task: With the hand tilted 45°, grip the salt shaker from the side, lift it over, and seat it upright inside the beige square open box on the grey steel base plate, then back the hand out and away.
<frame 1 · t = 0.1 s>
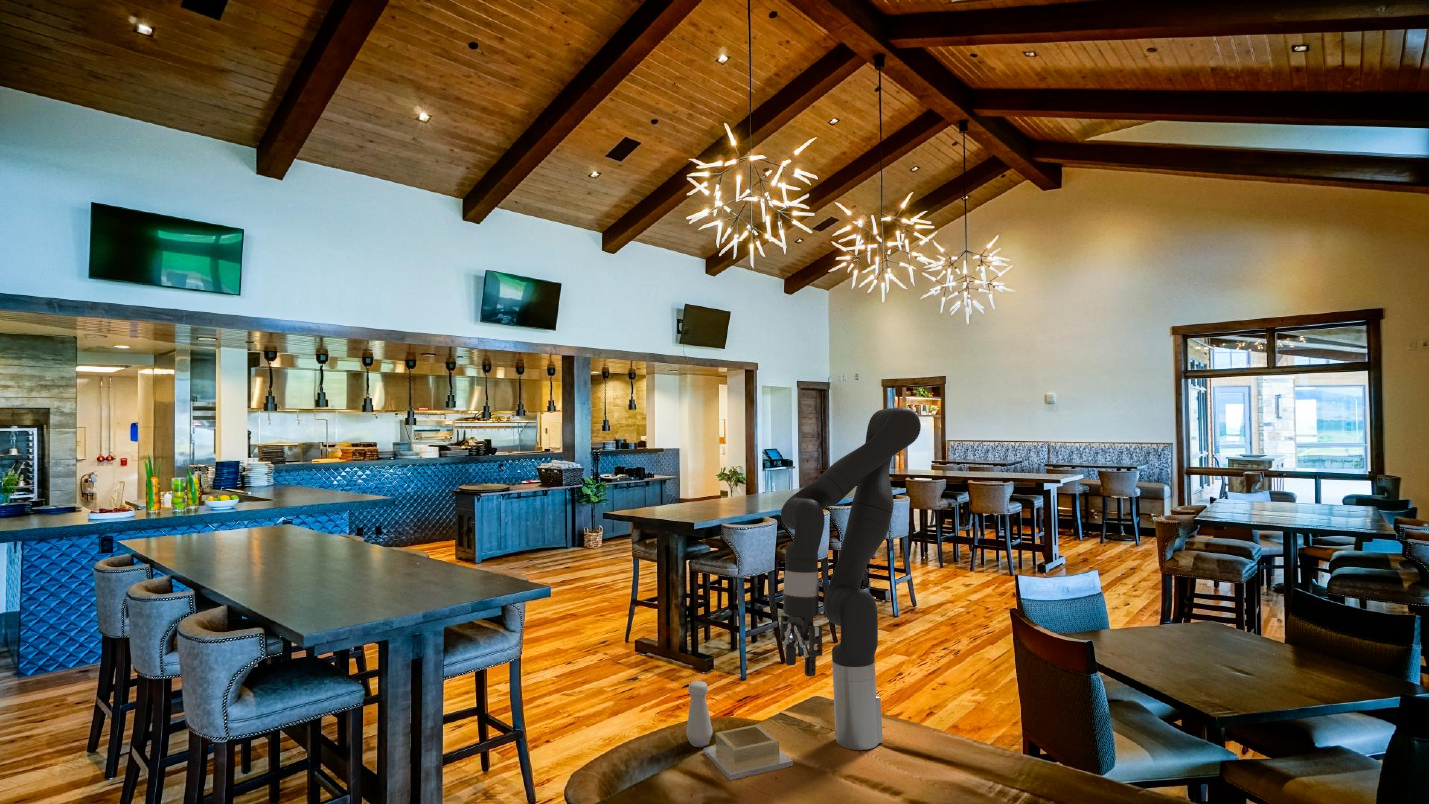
hand: (800, 670, 148), 17 cm above the table, tool pointing down, fingers open, 8 cm apart
salt shaker: (699, 744, 154), on the table
beige square open box: (747, 759, 145), on the table
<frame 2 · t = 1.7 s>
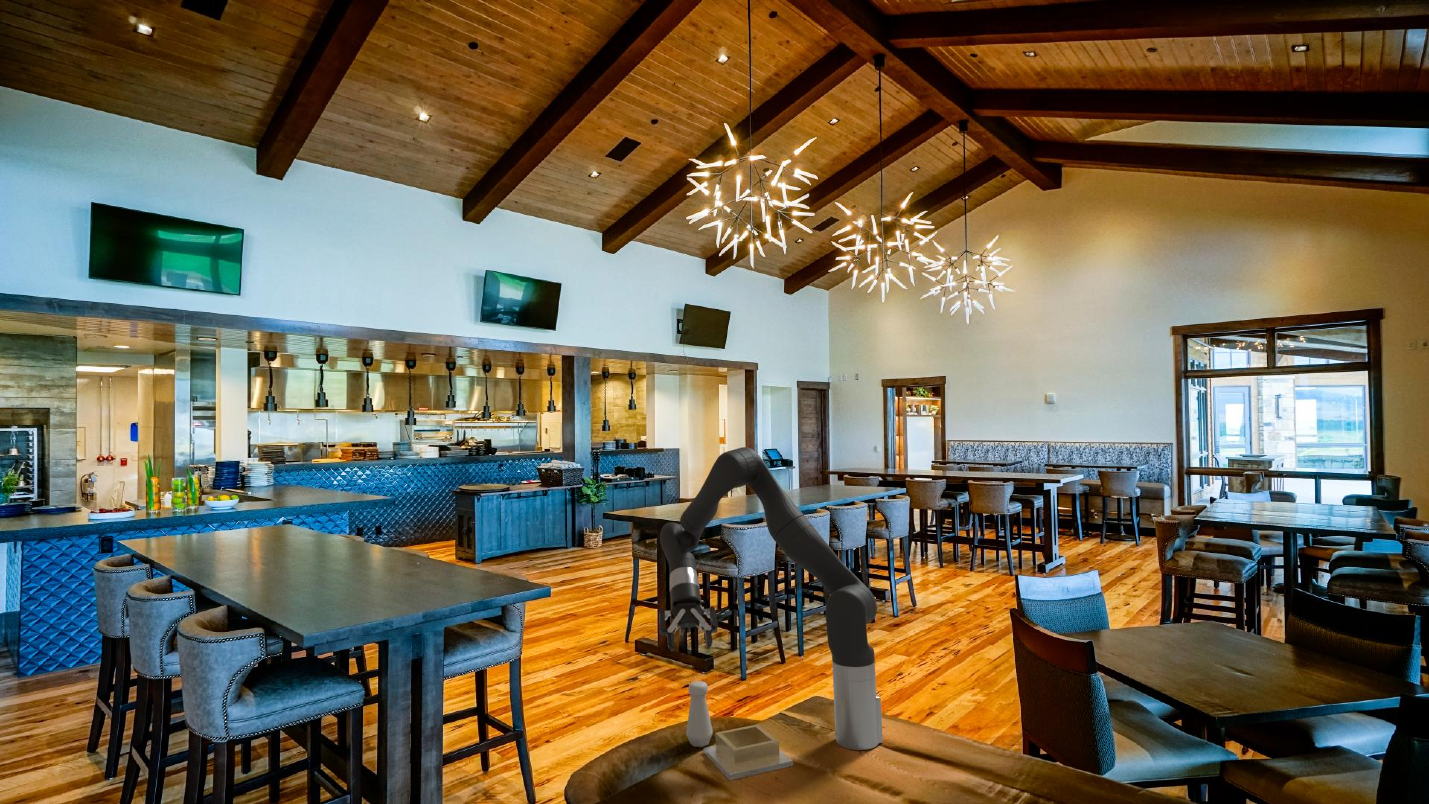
hand: (690, 648, 166), 18 cm above the table, tool tilted 45°, fingers open, 8 cm apart
nothing on the table moved.
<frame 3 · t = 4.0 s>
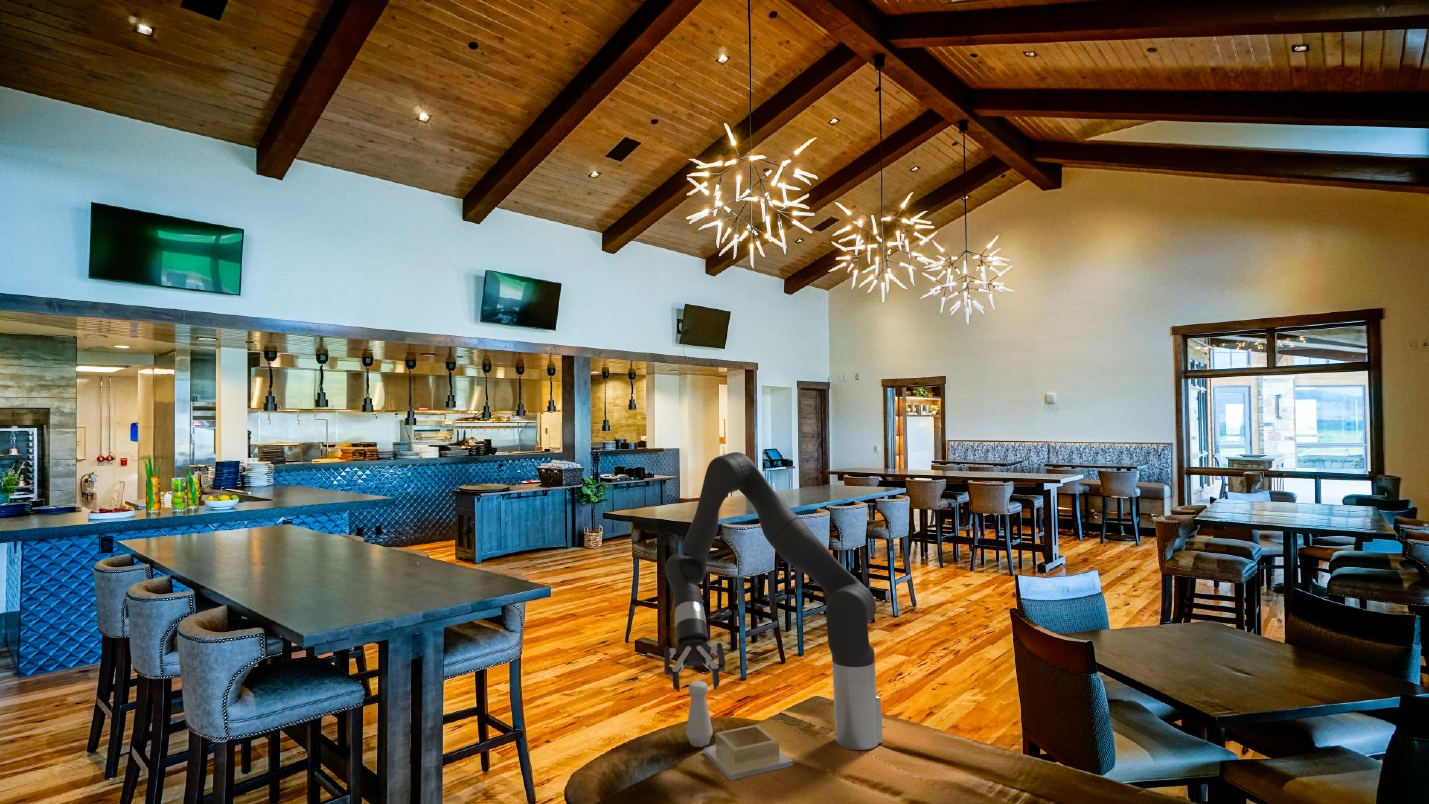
hand: (696, 688, 158), 10 cm above the table, tool tilted 45°, fingers open, 8 cm apart
nothing on the table moved.
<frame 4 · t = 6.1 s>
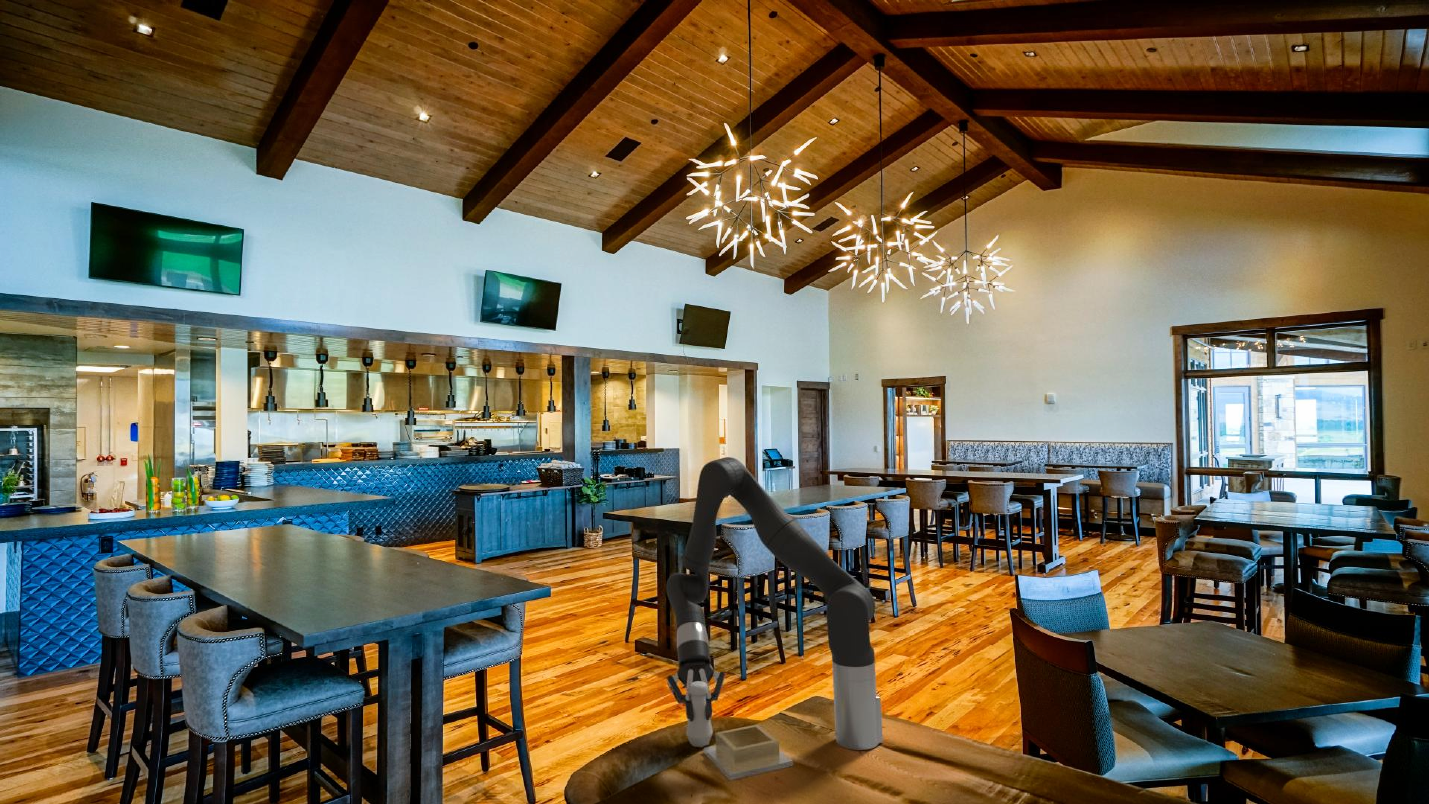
hand: (700, 718, 152), 6 cm above the table, tool tilted 45°, fingers closed on salt shaker, 3 cm apart
salt shaker: (699, 744, 154), on the table, touching gripper
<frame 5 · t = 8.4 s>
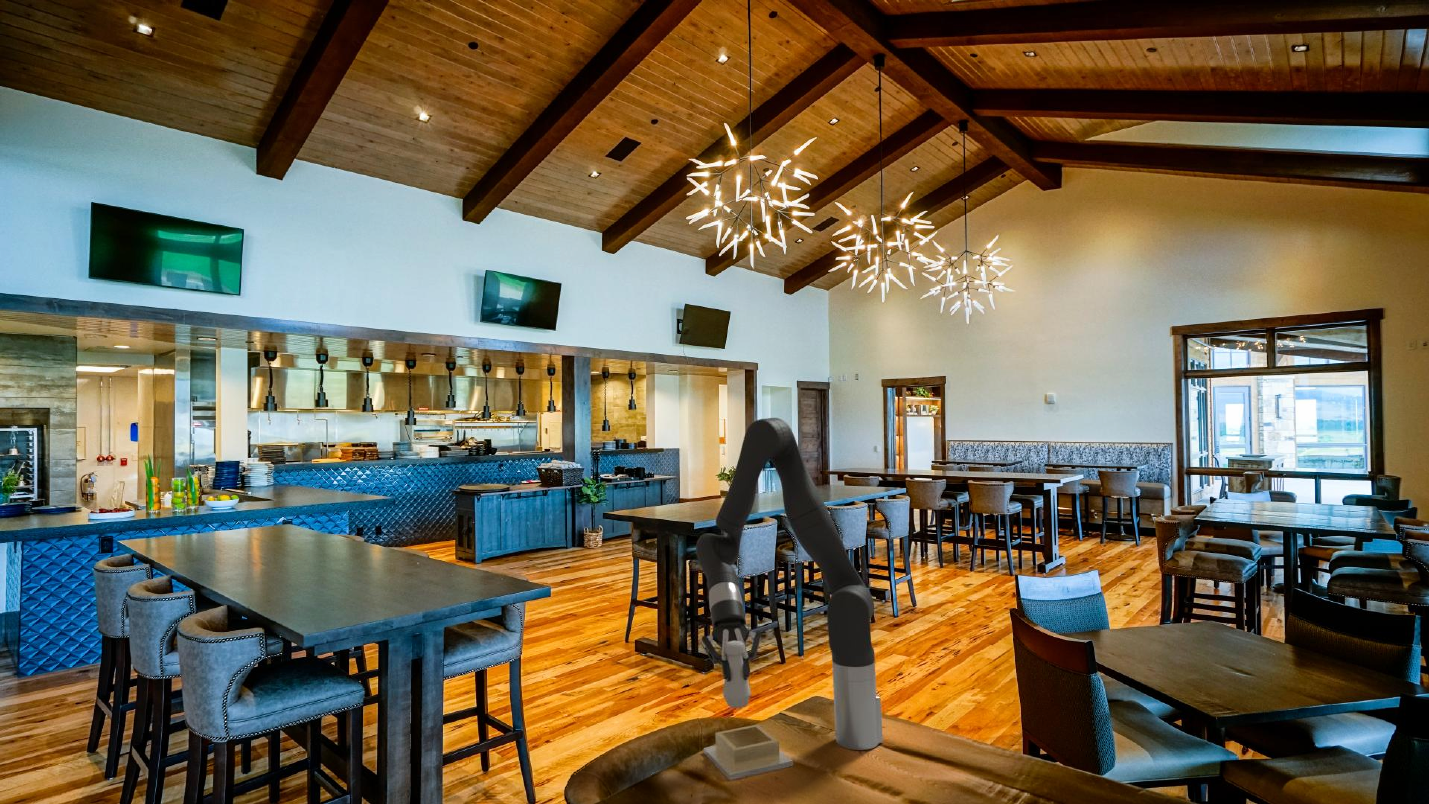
hand: (737, 678, 146), 16 cm above the table, tool tilted 45°, fingers closed on salt shaker, 3 cm apart
salt shaker: (737, 705, 148), point 10 cm above the table, touching gripper
when the fingers open (8 cm above the table, at t = 10.9 s): salt shaker drops 1 cm, resting on beige square open box.
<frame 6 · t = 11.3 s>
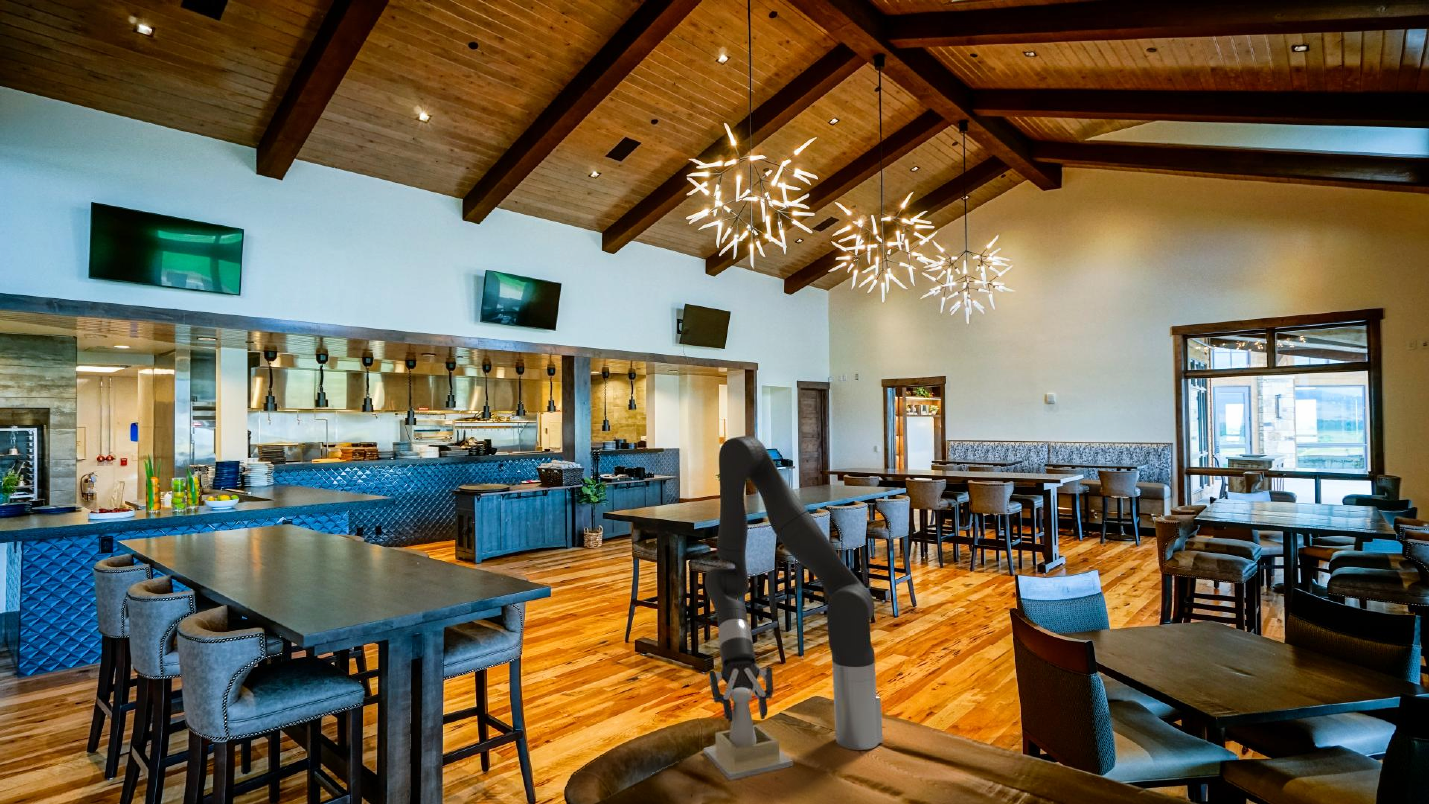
hand: (747, 718, 144), 9 cm above the table, tool tilted 45°, fingers open, 6 cm apart
salt shaker: (743, 753, 146), point 1 cm above the table, touching beige square open box
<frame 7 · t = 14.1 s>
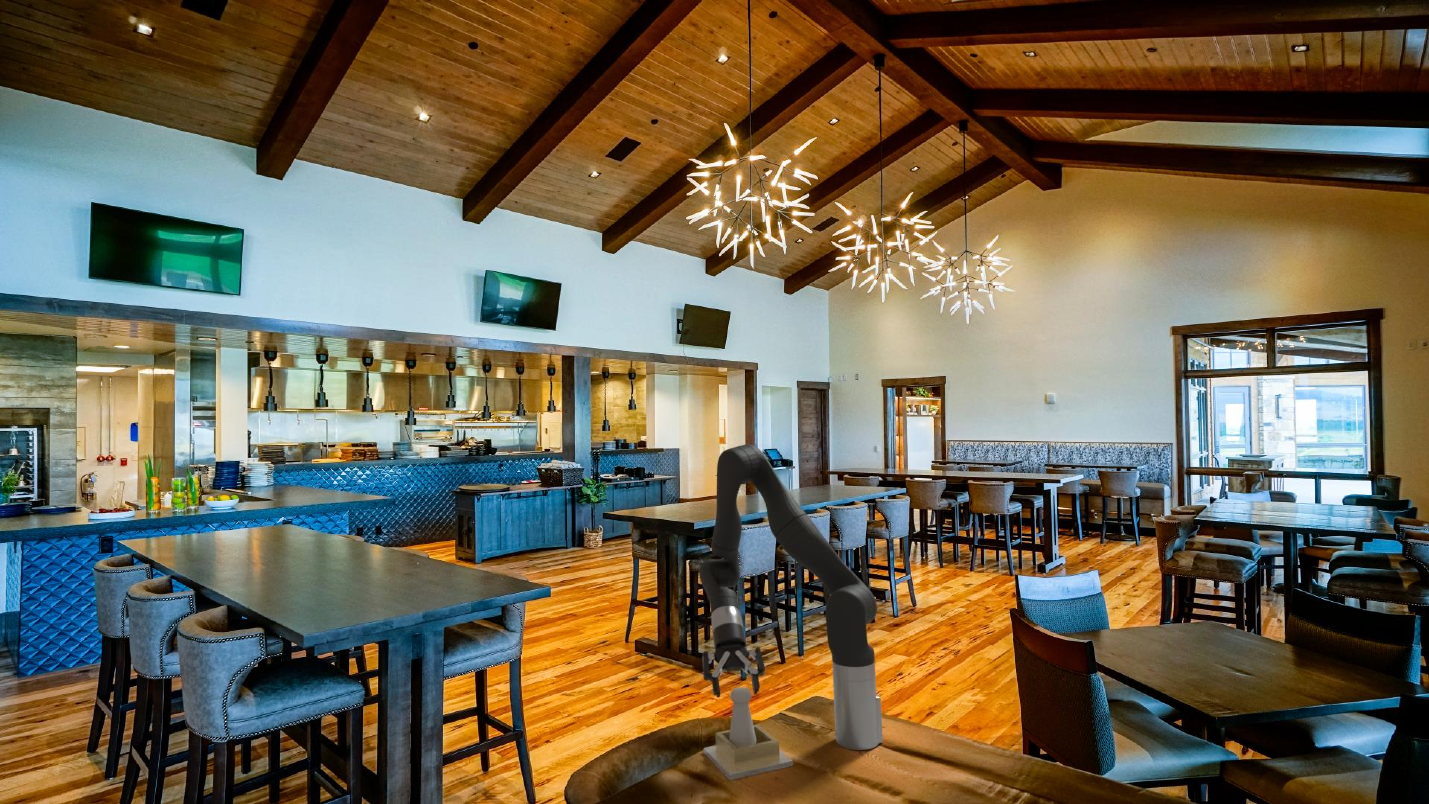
hand: (737, 694, 157), 9 cm above the table, tool tilted 45°, fingers open, 8 cm apart
nothing on the table moved.
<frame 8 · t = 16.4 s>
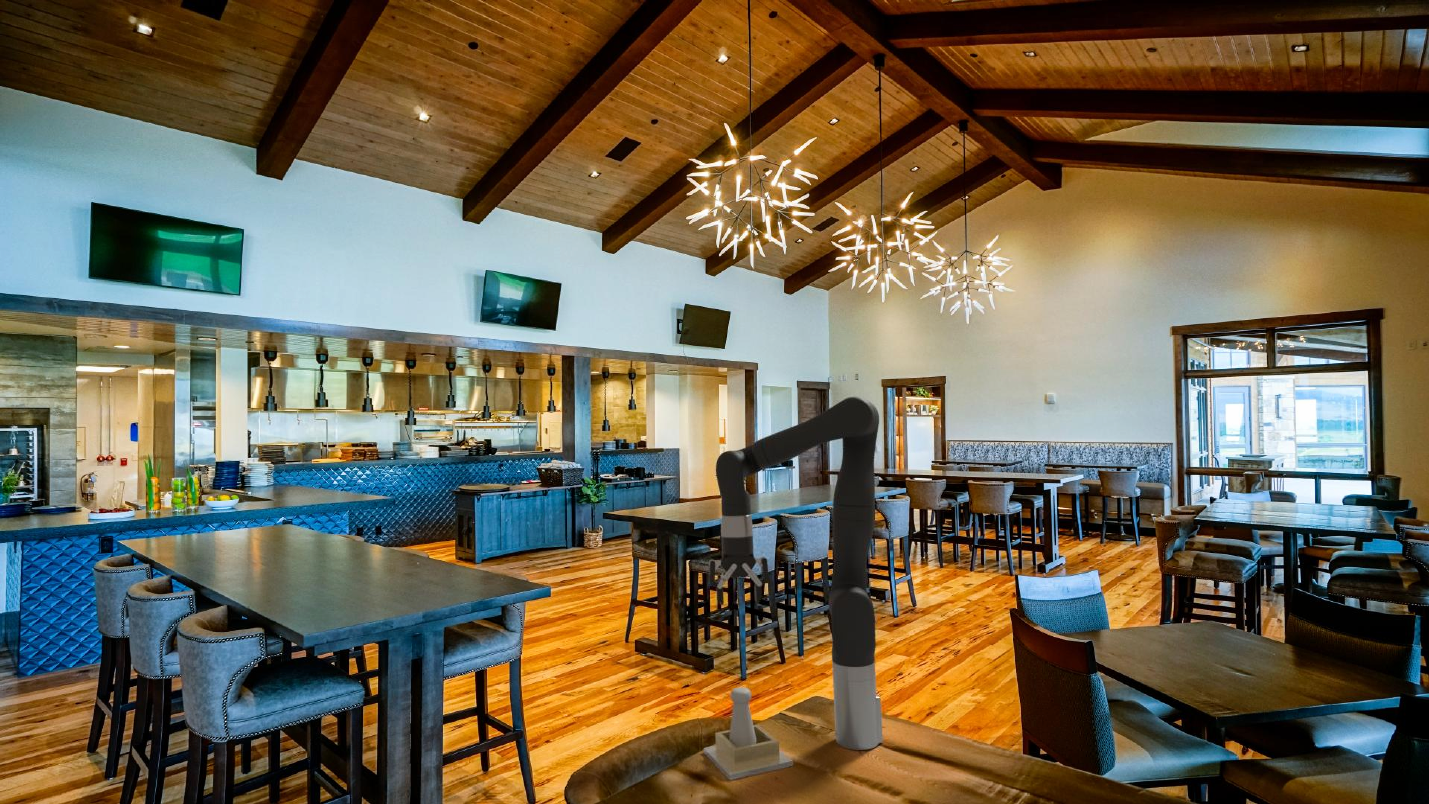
hand: (739, 603, 165), 28 cm above the table, tool pointing down, fingers open, 8 cm apart
nothing on the table moved.
at the end: salt shaker 1.1 cm off-centre on the beige square open box, point 0.8 cm above the beige square open box's base; salt shaker tilted 0°; the gripper is holding nothing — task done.
